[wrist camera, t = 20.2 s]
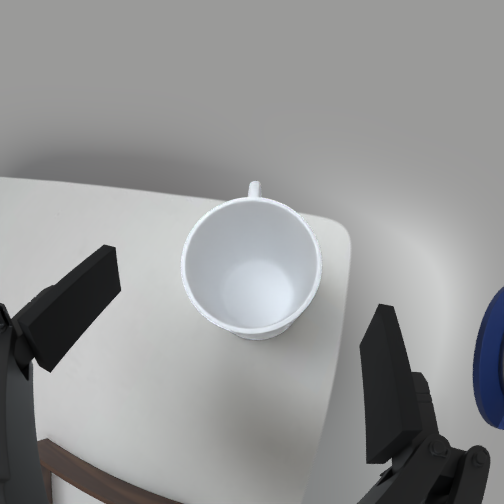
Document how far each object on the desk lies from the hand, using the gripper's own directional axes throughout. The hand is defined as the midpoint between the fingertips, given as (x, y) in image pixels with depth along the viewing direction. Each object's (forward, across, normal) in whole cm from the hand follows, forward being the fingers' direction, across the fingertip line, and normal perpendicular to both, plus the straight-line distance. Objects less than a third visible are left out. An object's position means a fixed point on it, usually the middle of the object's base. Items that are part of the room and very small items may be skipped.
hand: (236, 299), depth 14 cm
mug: (+13, 0, -7) cm, 15 cm away
